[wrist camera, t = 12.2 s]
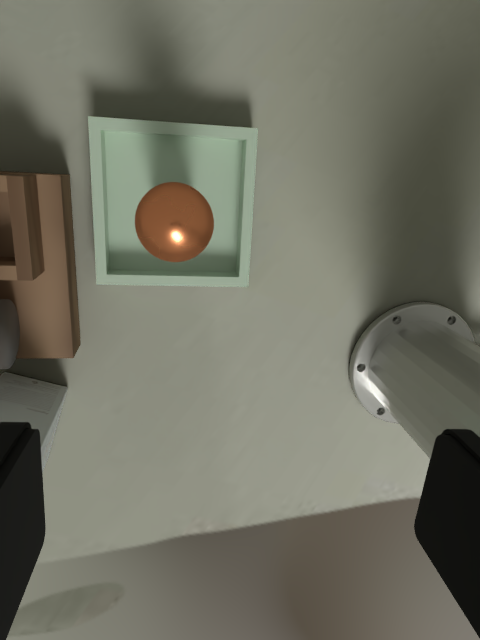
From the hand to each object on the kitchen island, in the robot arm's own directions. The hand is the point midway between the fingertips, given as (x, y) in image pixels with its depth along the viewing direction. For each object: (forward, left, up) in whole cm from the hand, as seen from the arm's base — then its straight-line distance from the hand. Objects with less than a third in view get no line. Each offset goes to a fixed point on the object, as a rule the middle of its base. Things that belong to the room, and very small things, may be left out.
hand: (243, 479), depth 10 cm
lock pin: (+2, -4, -28) cm, 29 cm away
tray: (+1, -4, -29) cm, 29 cm away
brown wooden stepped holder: (+14, +1, -29) cm, 32 cm away
